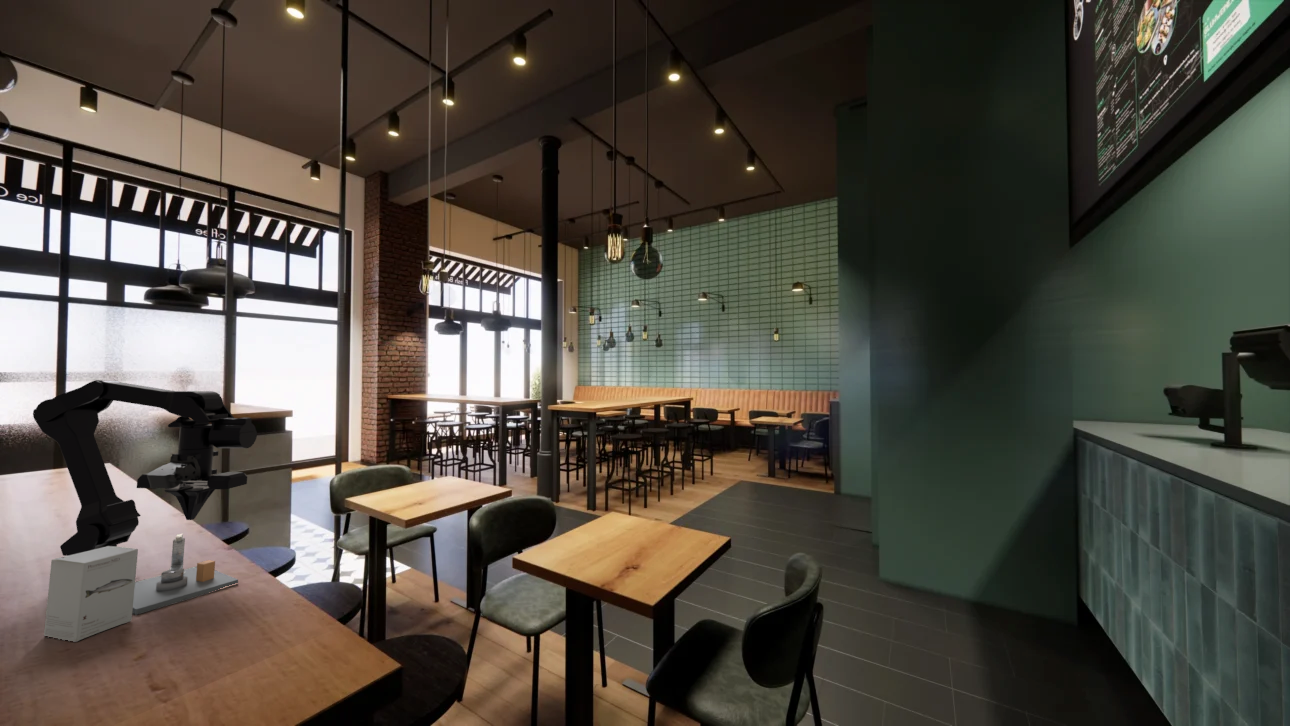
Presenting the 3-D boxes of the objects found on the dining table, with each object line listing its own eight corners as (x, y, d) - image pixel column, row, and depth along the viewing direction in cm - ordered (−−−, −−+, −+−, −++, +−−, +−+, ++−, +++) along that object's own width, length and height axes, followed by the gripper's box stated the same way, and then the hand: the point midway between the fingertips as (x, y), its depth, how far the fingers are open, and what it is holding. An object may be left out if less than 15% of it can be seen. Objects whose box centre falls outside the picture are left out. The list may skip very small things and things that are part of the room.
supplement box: (75, 643, 74) (82, 563, 75) (41, 637, 76) (49, 558, 77) (133, 621, 82) (139, 548, 82) (102, 616, 83) (108, 544, 84)
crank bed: (102, 595, 91) (104, 571, 91) (202, 569, 104) (203, 549, 104) (135, 614, 84) (137, 589, 84) (237, 584, 97) (239, 562, 97)
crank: (182, 580, 93) (185, 545, 93) (159, 584, 91) (162, 548, 91) (188, 565, 101) (190, 532, 101) (167, 568, 98) (169, 535, 99)
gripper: (111, 452, 94) (104, 530, 93) (208, 454, 95) (202, 531, 94) (165, 445, 105) (159, 515, 104) (251, 447, 106) (246, 516, 105)
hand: (190, 519), depth 102 cm, fingers closed
